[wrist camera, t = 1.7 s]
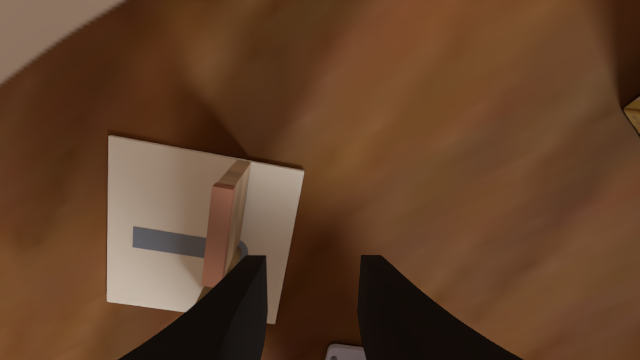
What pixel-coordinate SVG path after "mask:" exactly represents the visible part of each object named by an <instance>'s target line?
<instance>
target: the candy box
mask: <svg viewBox="0 0 640 360" xmlns="http://www.w3.org/2000/svg"><path fill="white" fill-rule="evenodd" d="M623 110H624V112H625V114H626V116H627V117H628V118H629V120H630V122H632V124H633V125H634V127H635V128H636V130H637V131H638V133H639V134H640V97H638V98H637V99H635V100H634V101H633V102H631V103H630V104H629V105H627V106H626V107H625V108H624V109H623Z"/></svg>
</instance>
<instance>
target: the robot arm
mask: <svg viewBox="0 0 640 360" xmlns="http://www.w3.org/2000/svg"><path fill="white" fill-rule="evenodd" d="M357 313H358V320H359V327H360V334H361V340H362V345H363V347H356V346H349V345H341V344H332V345H330V346H329V347H328V350H327V354H326V357H325V360H523V359H521V358H519V357H518V356H516V355H514V354H512V353H510V352H509V351H507V350H505V349H503V348H502V347H500V346H498V345H497V344H495V343H493V342H492V341H490V340H489V339H487V338H486V337H484V336H482V335H481V334H479V333H478V332H476V331H475V330H473V329H472V328H470V327H469V326H467V325H466V324H464V323H463V322H461V321H460V320H458V319H457V318H455V317H454V316H453V315H451V314H450V313H449V312H447V311H446V310H445V309H443V308H442V307H441V306H440V305H438V304H437V303H436V302H434V301H433V300H432V299H431V298H429V297H428V296H427V295H426V294H424V293H423V292H422V291H421V290H420V289H418V288H417V287H416V286H415V285H414V284H413V283H411V282H410V281H409V280H408V279H407V278H406V277H405V276H404V275H402V274H401V273H400V272H399V271H398V270H397V269H396V268H395V267H394V266H393V265H391V264H390V263H389V262H388V261H387V260H386V259H385V258H384V257H382V256H381V255H361V265H360V279H359V294H358V308H357ZM267 316H268V297H267V263H266V255H246V256H245V257H244V258H242V259H241V260H240V261H239V262H238V263H237V264H236V265H235V266H234V267H233V268H232V270H231V271H230V272H229V273H228V274H227V275H226V276H225V277H224V278H223V279H222V280H221V281H220V282H218V283H217V284H216V285H215V286H214V287H213V288H212V289H211V290H210V291H209V292H208V293H207V294H206V295H205V296H204V297H203V298H201V299H200V300H199V301H198V302H197V303H196V304H194V305H193V306H192V307H191V308H190V309H189V310H188V311H186V312H185V313H184V314H183V315H182V316H180V317H179V318H178V319H177V320H175V321H174V322H173V323H171V324H170V325H169V326H167V327H166V328H165V329H163V330H162V331H160V332H159V333H158V334H156V335H155V336H153V337H152V338H151V339H149V340H148V341H146V342H145V343H143V344H142V345H140V346H139V347H137V348H136V349H134V350H132V351H131V352H129V353H128V354H126V355H124V356H123V357H121V358H120V359H118V360H260V359H261V355H262V351H263V346H264V340H265V333H266V324H267ZM332 356H336V357H332Z"/></svg>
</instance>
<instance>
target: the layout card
mask: <svg viewBox="0 0 640 360" xmlns="http://www.w3.org/2000/svg"><path fill="white" fill-rule="evenodd" d="M237 160H239V161H245V162H250V163H251V166H250V173H249V180H248V187H247V195H246V202H245V209H244V216H243V223H242V230H241V237H240V241H239V244H238V246H239V247H240V249H241V252H242V254H241V257H240V260H241V259H242V258H244V257H245V256H246V255H266V263H267V297H268V316H267V323H269V324H275V322H276V316H277V311H278V306H279V301H280V296H281V291H282V285H283V280H284V275H285V270H286V265H287V260H288V254H289V249H290V244H291V239H292V234H293V228H294V223H295V218H296V213H297V208H298V203H299V197H300V192H301V187H302V182H303V177H304V171H305V170H300V169H295V168H289V167H284V166H278V165H273V164H267V163H262V162H256V161H251V160H246V159H240V158H235V157H229V156H224V155H218V154H213V153H207V152H202V151H196V150H191V149H185V148H180V147H174V146H169V145H163V144H158V143H152V142H147V141H141V140H136V139H130V138H125V137H119V136H114V135H110V136H108V234H107V302H114V303H121V304H128V305H136V306H143V307H151V308H158V309H165V310H173V311H180V312H186V311H188V310H189V309H190V308H191V307H192V306H193V305H194V304H195V303H196V301H197V299H198V297H199V295H200V293H201V291H202V289H203V287H204V286H201V284H202V274H203V265H204V256H205V247H206V238H207V228H208V219H209V210H210V201H211V191H212V186H213V185H214V184H215V183H216V182H218V181H219V180H220V178H221V177H222V176H223V175H224V174H225V173H226V172H227V171H228V169H229V168H230V167H231V166H232V165H233V164H234V163H235V162H236V161H237ZM240 260H239V261H240Z"/></svg>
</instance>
